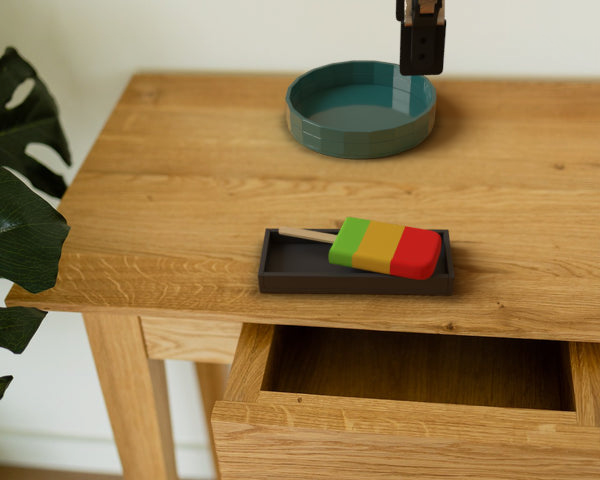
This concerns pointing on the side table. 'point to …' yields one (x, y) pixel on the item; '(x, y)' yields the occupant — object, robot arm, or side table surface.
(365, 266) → the popsicle
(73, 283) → the side table surface
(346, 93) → the bowl
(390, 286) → the tray
